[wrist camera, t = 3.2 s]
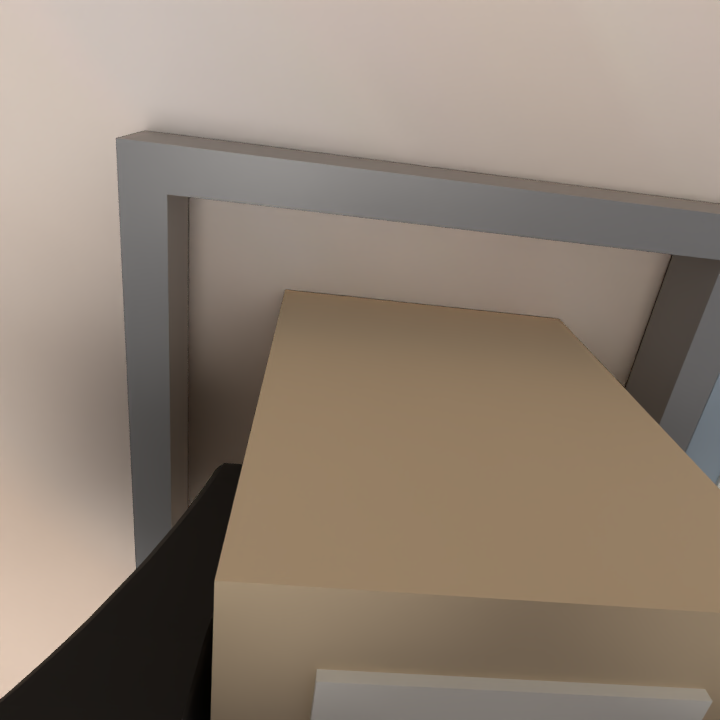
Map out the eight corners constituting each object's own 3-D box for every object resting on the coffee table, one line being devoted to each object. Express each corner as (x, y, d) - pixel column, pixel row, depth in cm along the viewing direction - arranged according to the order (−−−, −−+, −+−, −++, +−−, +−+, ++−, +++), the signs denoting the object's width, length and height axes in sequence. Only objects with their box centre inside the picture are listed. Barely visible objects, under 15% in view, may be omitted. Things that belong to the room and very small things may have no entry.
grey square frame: (729, 205, 9) (783, 221, 8) (553, 662, 13) (572, 714, 12) (144, 130, 8) (115, 138, 7) (158, 641, 12) (141, 695, 11)
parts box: (559, 319, 10) (854, 631, 4) (482, 587, 12) (602, 1003, 7) (285, 289, 9) (212, 591, 4) (263, 573, 12) (201, 1003, 6)
